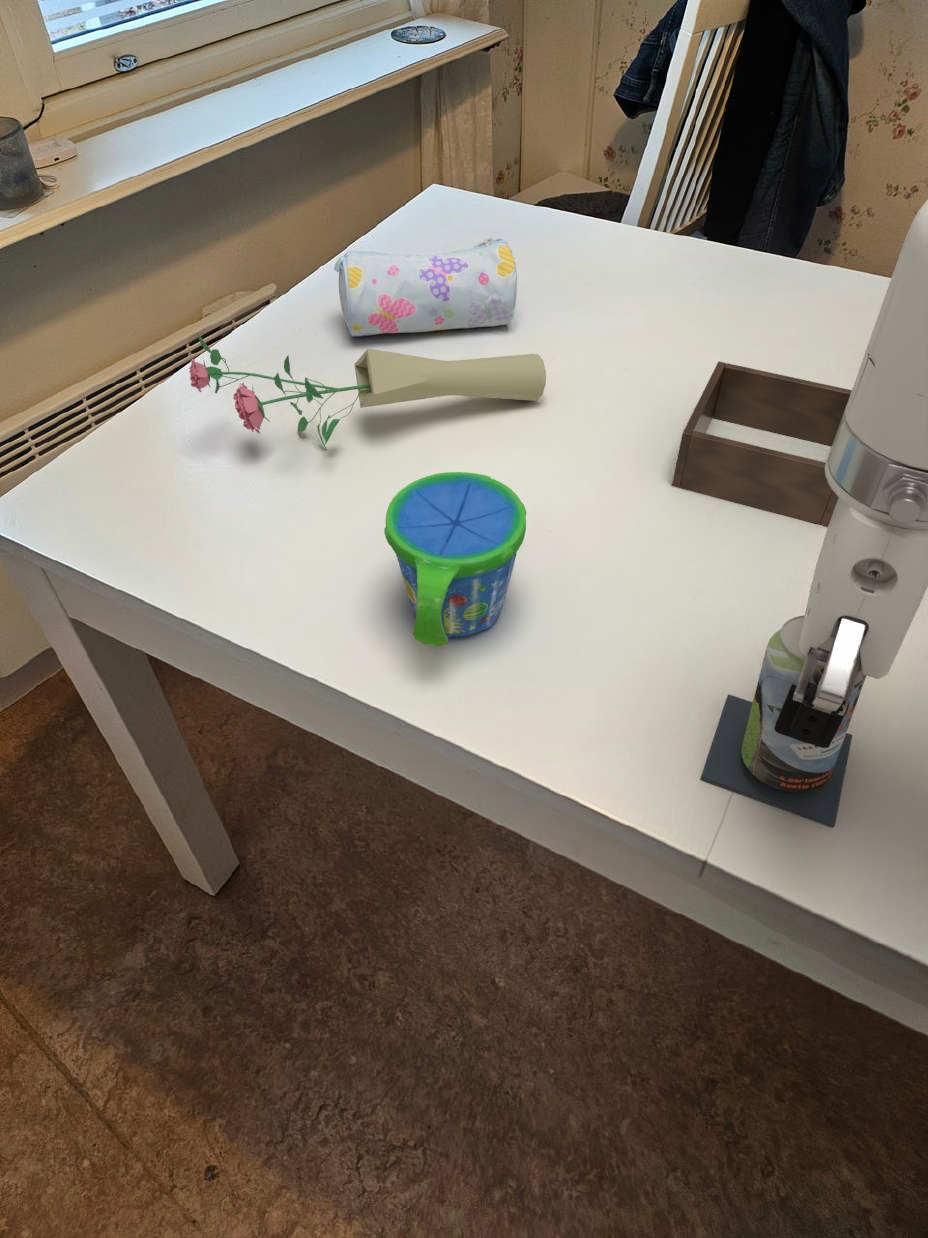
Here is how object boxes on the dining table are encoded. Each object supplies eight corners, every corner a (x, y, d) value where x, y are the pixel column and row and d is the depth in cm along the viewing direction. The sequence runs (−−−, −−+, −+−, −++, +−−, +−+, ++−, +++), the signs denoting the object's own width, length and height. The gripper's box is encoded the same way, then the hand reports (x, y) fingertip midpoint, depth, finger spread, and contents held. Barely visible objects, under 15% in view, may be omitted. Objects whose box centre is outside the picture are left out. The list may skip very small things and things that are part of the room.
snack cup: (484, 695, 66) (486, 601, 58) (359, 658, 68) (345, 563, 61) (546, 563, 76) (554, 468, 68) (434, 534, 78) (430, 441, 71)
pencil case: (506, 301, 108) (508, 224, 102) (523, 335, 103) (526, 256, 96) (339, 318, 106) (329, 240, 99) (346, 354, 100) (336, 274, 93)
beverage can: (764, 813, 58) (816, 704, 49) (714, 727, 63) (753, 614, 54) (847, 791, 59) (912, 680, 51) (791, 709, 64) (841, 594, 55)
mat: (850, 738, 63) (852, 734, 63) (833, 827, 58) (834, 824, 58) (727, 697, 66) (728, 693, 65) (700, 779, 61) (701, 776, 60)
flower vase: (524, 474, 97) (200, 493, 82) (489, 390, 102) (179, 395, 87) (566, 400, 87) (208, 407, 73) (526, 312, 92) (183, 303, 78)
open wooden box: (850, 445, 87) (870, 393, 83) (828, 526, 79) (849, 473, 74) (706, 412, 91) (718, 360, 87) (671, 485, 83) (682, 432, 79)
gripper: (986, 593, 36) (857, 810, 49) (1002, 387, 47) (892, 608, 59) (802, 544, 38) (723, 763, 51) (857, 358, 49) (781, 576, 62)
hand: (814, 679), depth 55 cm, fingers open, 9 cm apart
